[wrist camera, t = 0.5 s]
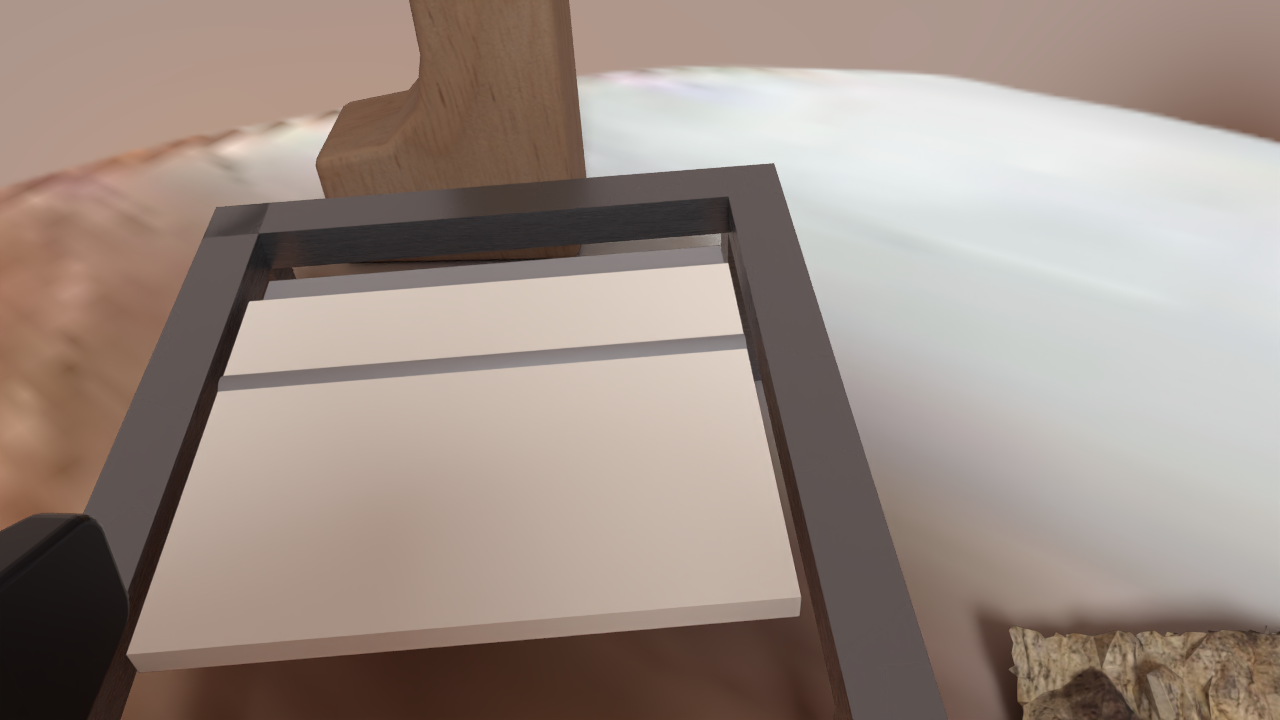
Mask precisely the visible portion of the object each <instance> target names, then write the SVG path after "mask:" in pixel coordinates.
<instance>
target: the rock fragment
mask: <svg viewBox="0 0 1280 720" xmlns="http://www.w3.org/2000/svg"><path fill="white" fill-rule="evenodd" d="M1009 633H1010V635H1011V638H1012V641H1013V648H1012V653H1011V654H1012V657H1013V661H1014V666H1013V667H1011V668H1009V670H1010V671H1011V672H1012V673H1013V674H1015V675H1016V676H1017V677H1018V682H1017V699H1018V703H1019V704H1020V705H1021V706H1022V707H1023V711H1024V714H1023V720H1280V632H1275V633H1269V630H1268V628H1267V626H1266V629H1265V634H1262V633H1259V632H1255V631H1252V630H1249V631H1248V632H1244V631H1228V630H1222V629H1221V630H1220V632H1215V631H1209V633H1203V632H1187V631H1186V632H1185V633H1183V634H1182V635H1181V636H1179V635H1178V634H1176V633H1171V632H1167V633H1166V635H1165V637H1164V636H1162V635H1160V634H1159V633H1157V632H1155V631H1146V632H1141V633H1139V634H1136V635H1133V634H1132V633H1131V632H1130V631H1129V632H1127V633H1126V632H1123V631H1120V630H1116V631H1112V632H1108V633H1104V634H1099V635H1095V636H1089V635H1083V634H1078V633H1071V634H1066V637H1064V636H1062V635H1060V634H1059V633H1057V632H1056V633H1055V635H1054V636H1053V637H1049V638H1044V637H1043V635H1042V634H1041V633H1040V632H1037V631H1034V630H1030V629H1025V628H1021V627H1018V626H1015V625H1013V626H1012V627H1011V628H1010V630H1009Z"/></svg>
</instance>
